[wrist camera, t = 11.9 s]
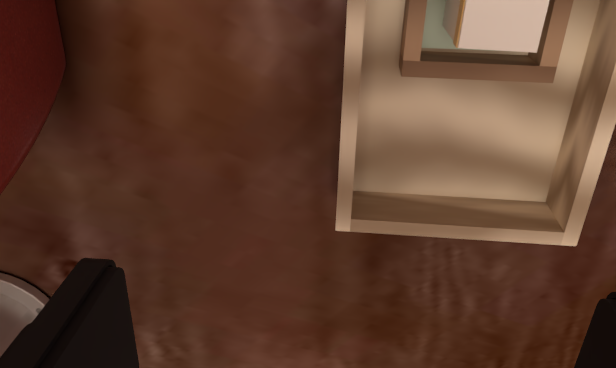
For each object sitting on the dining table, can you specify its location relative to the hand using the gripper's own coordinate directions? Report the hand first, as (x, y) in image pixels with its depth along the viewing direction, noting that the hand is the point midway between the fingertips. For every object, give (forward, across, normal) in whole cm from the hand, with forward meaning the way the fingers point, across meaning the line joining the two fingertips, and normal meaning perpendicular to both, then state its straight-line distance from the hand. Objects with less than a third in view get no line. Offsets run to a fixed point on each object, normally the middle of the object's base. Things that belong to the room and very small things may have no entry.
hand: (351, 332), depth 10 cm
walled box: (+27, -8, +2) cm, 28 cm away
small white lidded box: (+26, -8, -4) cm, 27 cm away
